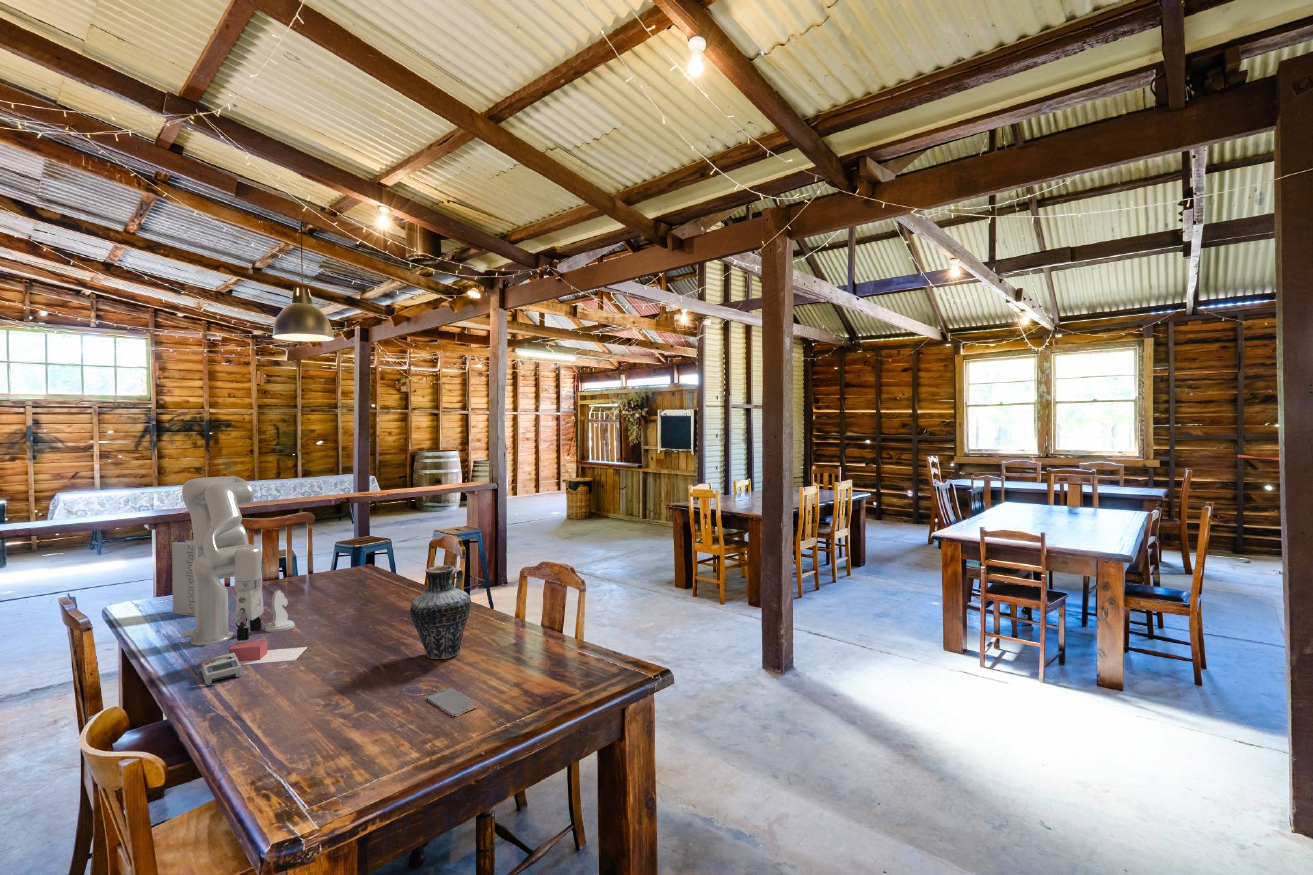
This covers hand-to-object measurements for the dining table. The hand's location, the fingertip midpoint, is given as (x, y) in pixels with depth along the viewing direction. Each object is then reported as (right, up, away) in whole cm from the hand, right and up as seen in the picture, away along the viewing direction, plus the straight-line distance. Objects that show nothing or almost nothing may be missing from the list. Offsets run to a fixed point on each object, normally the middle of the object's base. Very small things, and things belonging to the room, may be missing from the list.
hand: (249, 635), depth 195 cm
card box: (-1, -8, +1) cm, 8 cm away
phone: (+80, -9, -32) cm, 86 cm away
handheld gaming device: (0, -8, -12) cm, 15 cm away
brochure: (-61, -8, +52) cm, 80 cm away
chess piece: (-11, -8, +32) cm, 35 cm away
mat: (+4, -8, +2) cm, 9 cm away
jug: (+63, -8, +4) cm, 64 cm away
